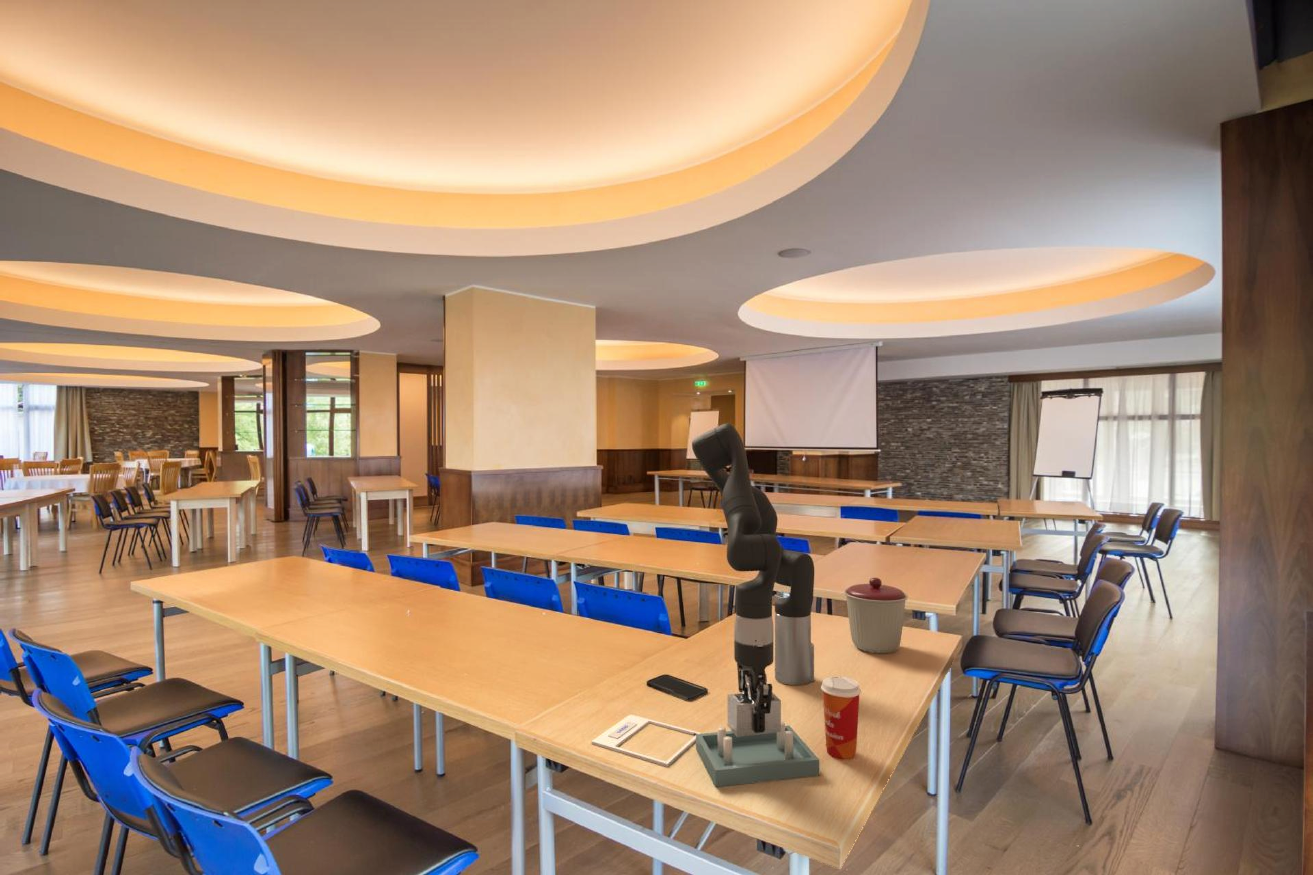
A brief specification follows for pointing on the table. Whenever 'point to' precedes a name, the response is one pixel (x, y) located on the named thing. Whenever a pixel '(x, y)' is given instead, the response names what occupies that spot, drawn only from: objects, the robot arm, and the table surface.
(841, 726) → the paper cup
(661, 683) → the phone
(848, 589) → the canister
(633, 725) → the photo frame
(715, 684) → the table surface
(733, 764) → the tray
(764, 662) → the robot arm
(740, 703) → the block
